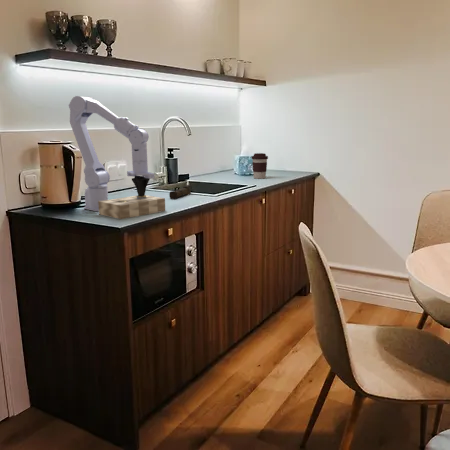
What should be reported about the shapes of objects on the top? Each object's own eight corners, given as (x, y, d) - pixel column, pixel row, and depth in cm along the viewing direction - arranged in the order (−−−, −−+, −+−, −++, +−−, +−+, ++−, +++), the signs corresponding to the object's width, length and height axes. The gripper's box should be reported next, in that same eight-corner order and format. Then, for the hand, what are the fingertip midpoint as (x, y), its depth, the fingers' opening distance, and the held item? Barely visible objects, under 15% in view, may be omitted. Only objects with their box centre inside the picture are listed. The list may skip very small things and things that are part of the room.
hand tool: (176, 199, 212) (176, 189, 211) (169, 199, 214) (168, 189, 213) (195, 194, 229) (195, 184, 228) (188, 193, 231) (188, 184, 230)
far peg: (135, 207, 184) (134, 195, 183) (142, 205, 187) (142, 194, 186) (141, 208, 182) (140, 196, 181) (148, 206, 185) (147, 195, 184)
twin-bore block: (99, 214, 179) (98, 201, 178) (143, 206, 194) (142, 194, 193) (120, 219, 169) (120, 205, 168) (165, 210, 185) (164, 198, 184)
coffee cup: (248, 177, 290) (248, 153, 287) (262, 177, 294) (262, 152, 291) (256, 179, 281) (256, 154, 278) (270, 178, 285) (271, 153, 282)
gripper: (120, 160, 183) (121, 195, 185) (143, 162, 173) (144, 198, 176) (134, 159, 188) (136, 193, 191) (158, 161, 178) (159, 196, 181)
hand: (141, 195), depth 184 cm, fingers closed, pressing on far peg
